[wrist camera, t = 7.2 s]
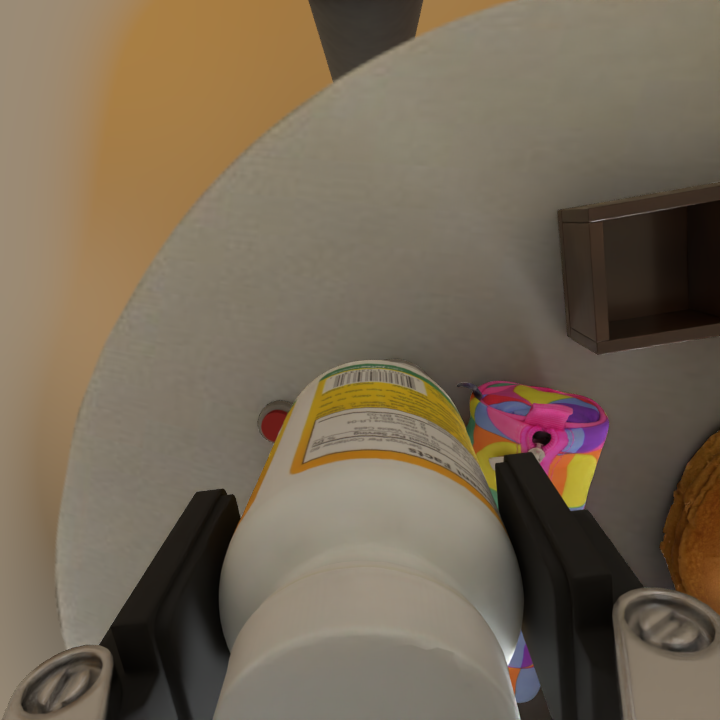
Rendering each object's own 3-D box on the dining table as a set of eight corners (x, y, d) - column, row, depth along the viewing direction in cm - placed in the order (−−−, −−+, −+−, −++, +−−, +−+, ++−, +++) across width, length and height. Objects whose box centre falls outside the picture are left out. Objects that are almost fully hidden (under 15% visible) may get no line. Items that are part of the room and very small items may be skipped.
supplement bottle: (384, 317, 15) (402, 487, 6) (501, 455, 16) (677, 791, 7) (244, 433, 16) (63, 737, 7) (360, 555, 17) (345, 968, 8)
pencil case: (452, 356, 38) (475, 397, 29) (585, 370, 38) (648, 416, 29) (411, 616, 44) (421, 715, 35) (527, 628, 44) (566, 731, 35)
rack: (557, 209, 35) (587, 208, 30) (818, 164, 34) (895, 154, 29) (566, 336, 38) (597, 355, 32) (813, 297, 36) (885, 310, 31)
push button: (280, 392, 39) (276, 399, 38) (309, 420, 40) (307, 428, 38) (252, 419, 40) (247, 426, 38) (281, 446, 40) (277, 455, 39)
